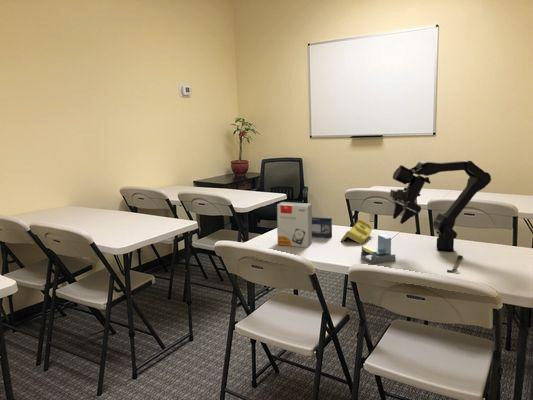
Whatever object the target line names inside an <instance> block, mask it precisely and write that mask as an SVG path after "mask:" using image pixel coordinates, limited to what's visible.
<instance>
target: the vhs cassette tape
mask: <svg viewBox="0 0 533 400" xmlns="http://www.w3.org/2000/svg"><path fill="white" fill-rule="evenodd" d="M322 237H323V239H331V238H332V237H333V219H332V217H318V216H317V217H316V216H315V217H314V216H312V238H322Z"/></svg>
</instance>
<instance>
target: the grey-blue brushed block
mask: <svg viewBox="0 0 533 400" xmlns="http://www.w3.org/2000/svg"><path fill="white" fill-rule="evenodd" d="M374 250H375V251H377V256H384V255H391V254H392V237H390V236H388V235H386V234H383V233H382V234H378V235H377V249H374Z"/></svg>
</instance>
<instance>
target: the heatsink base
mask: <svg viewBox="0 0 533 400" xmlns="http://www.w3.org/2000/svg"><path fill="white" fill-rule="evenodd" d="M375 250H376V249H373V248H370V247H368V246H367V245H362V246H361V252H360V258H361V259H362V260H364V261H365V262H367V263H369V264H371V265H377V264H383V263H384V262H385V263H389V262H396V259H397V258H396V254H394V253H391V255H384V256H377V251H375Z"/></svg>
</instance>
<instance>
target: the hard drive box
mask: <svg viewBox="0 0 533 400" xmlns="http://www.w3.org/2000/svg"><path fill="white" fill-rule="evenodd" d="M312 205H313V204H312V203H304V202H291V201H290V202H289V201H287V202H286V201H281V202H279V203H277V204H276V224H277V225H276V229H277V231H276V232H277V234H276V235H277V245H280V246H290V247H299V248H309V247H310V246H311V245H312V244H313V241H312V239H313V237H312V217H313V216H312V214H313V213H312V212H313V211H312V209H313V207H312Z"/></svg>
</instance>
